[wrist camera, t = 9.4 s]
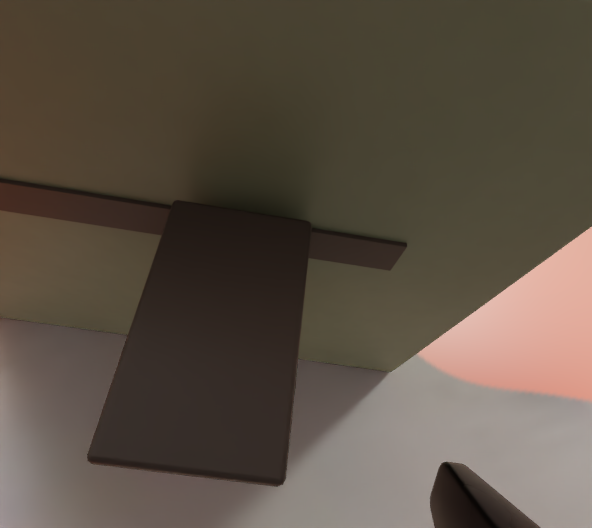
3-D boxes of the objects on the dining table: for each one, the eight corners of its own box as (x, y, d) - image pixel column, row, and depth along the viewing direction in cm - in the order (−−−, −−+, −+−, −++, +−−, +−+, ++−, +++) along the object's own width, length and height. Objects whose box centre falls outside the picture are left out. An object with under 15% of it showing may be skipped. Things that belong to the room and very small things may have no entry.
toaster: (391, 375, 15) (865, 43, 4) (-19, 317, 15) (-1089, -352, 3) (388, 184, 21) (584, -213, 9) (82, 133, 20) (-154, -383, 8)
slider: (270, 485, 7) (285, 487, 5) (135, 468, 7) (81, 463, 4) (295, 285, 9) (312, 219, 7) (190, 270, 9) (172, 196, 6)
